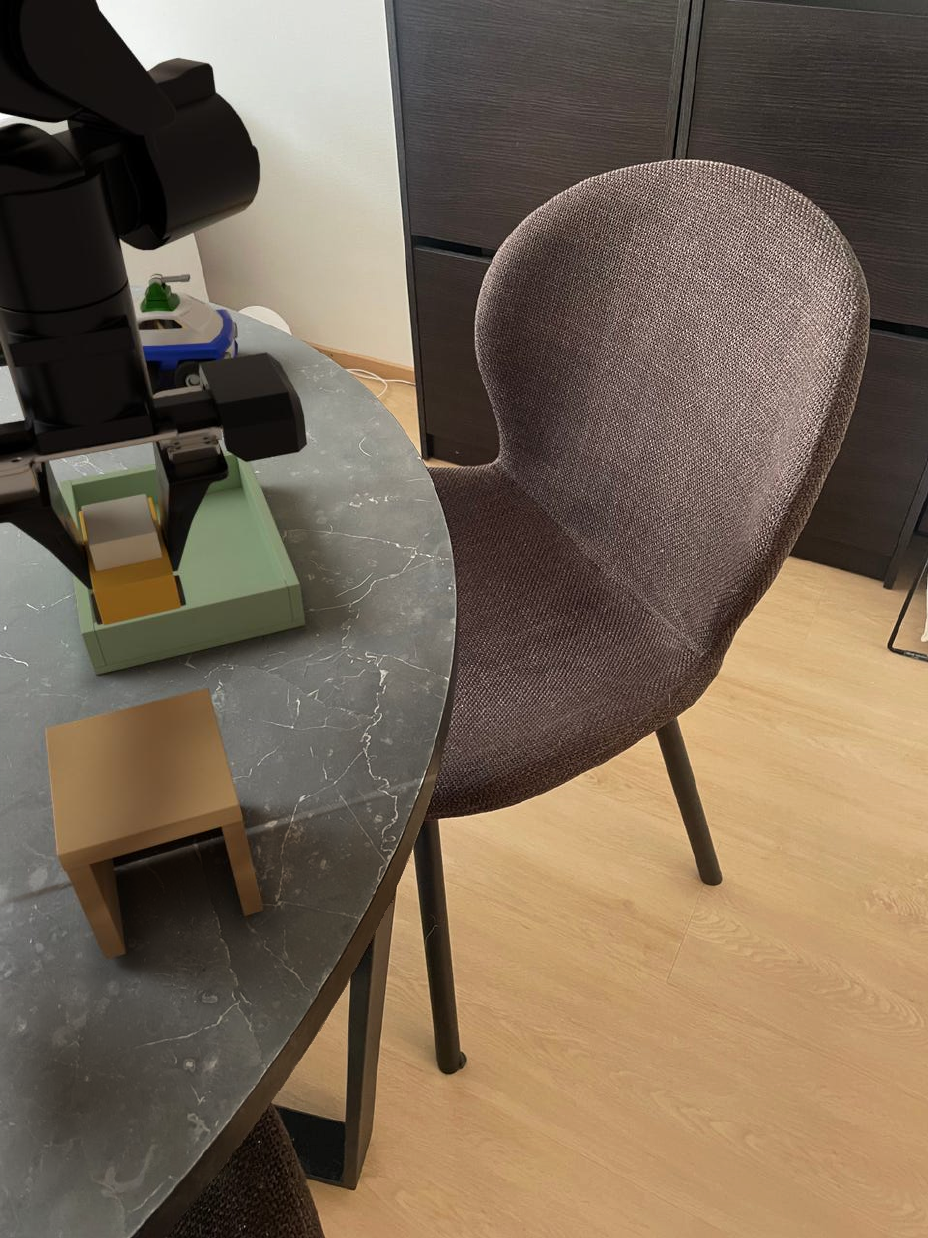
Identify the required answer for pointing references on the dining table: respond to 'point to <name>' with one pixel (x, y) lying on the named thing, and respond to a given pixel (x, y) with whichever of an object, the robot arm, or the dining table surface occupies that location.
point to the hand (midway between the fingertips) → (133, 575)
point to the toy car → (181, 332)
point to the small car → (128, 561)
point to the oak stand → (141, 798)
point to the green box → (197, 572)
